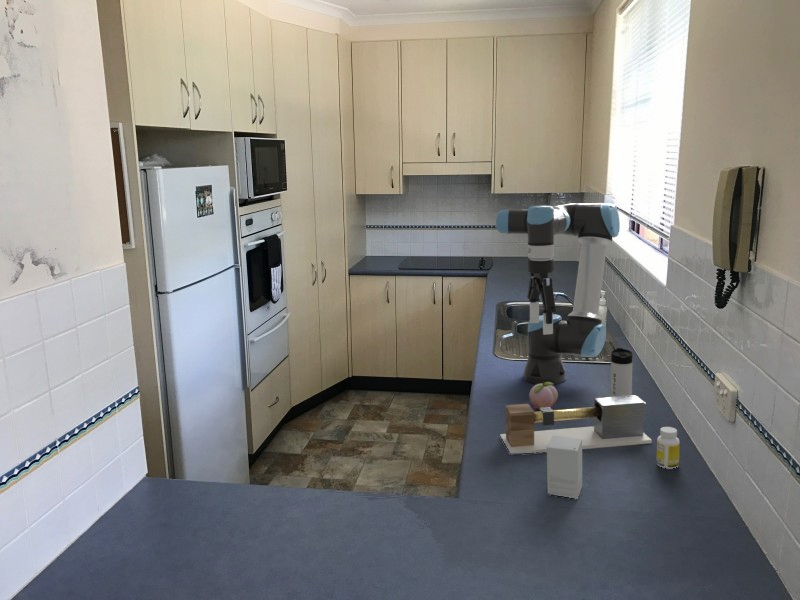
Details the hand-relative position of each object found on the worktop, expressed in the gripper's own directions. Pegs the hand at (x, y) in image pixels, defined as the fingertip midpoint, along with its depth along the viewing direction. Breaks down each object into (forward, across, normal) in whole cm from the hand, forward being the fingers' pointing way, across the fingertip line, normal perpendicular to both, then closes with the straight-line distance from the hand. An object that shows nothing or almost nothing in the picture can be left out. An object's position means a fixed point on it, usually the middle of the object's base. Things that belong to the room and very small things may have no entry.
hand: (541, 328), depth 197 cm
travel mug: (+29, +1, +25) cm, 38 cm away
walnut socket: (+29, +18, -12) cm, 36 cm away
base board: (+29, +18, +4) cm, 34 cm away
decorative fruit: (+29, -5, +2) cm, 29 cm away
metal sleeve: (+28, +18, +17) cm, 37 cm away
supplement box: (+29, +45, -8) cm, 54 cm away
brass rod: (+23, +18, -1) cm, 29 cm away
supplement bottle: (+29, +37, +22) cm, 52 cm away
